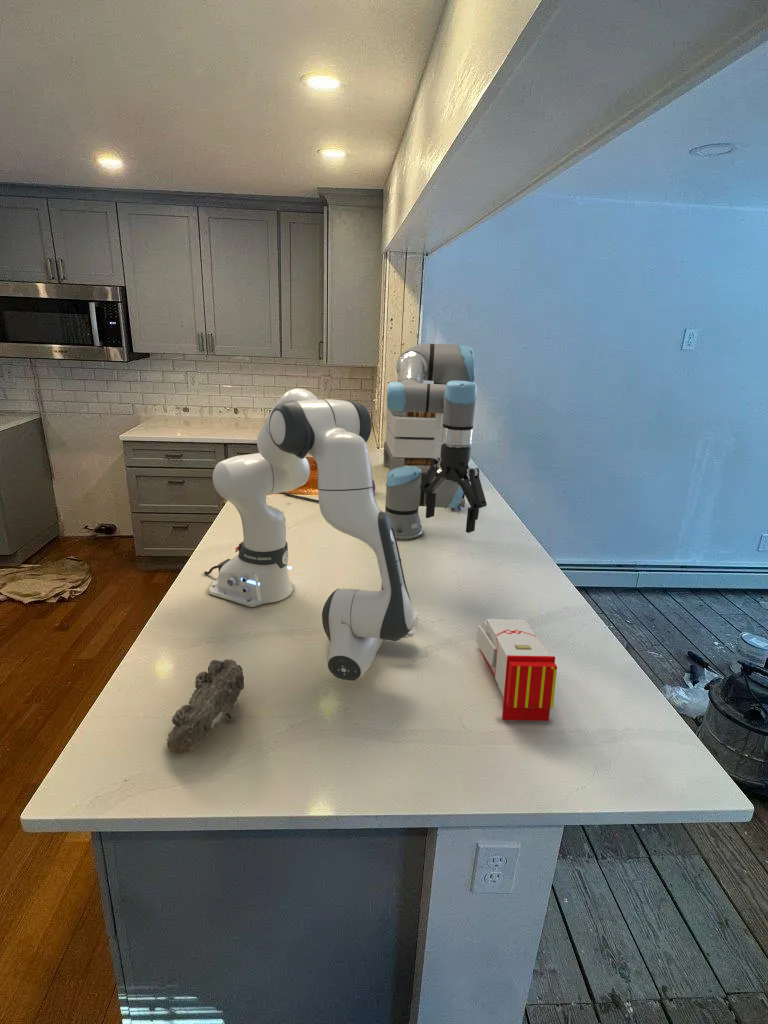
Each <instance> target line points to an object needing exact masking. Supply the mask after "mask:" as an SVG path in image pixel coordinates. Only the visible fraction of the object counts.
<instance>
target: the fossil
mask: <svg viewBox="0 0 768 1024" xmlns="http://www.w3.org/2000/svg"><path fill="white" fill-rule="evenodd" d="M243 670H244V669H243V667H242V665H240V664H237V662H236V661H235V660H234V659H232V658H231V659H227V658H226V659H224V660H223V661H222V660H217V659H212V660H211V661H210V663H209V665H208V666H207V671H201V672H199V673H198V674H197V675H196V676H195V680H194V684H195V685H194V687H195V689H194V690H193V693H192V694H191V697H190V698H189V700H188V704H184V705H182V706H181V707H180V709H177V710H176V711H175V713H174V715H173V716H172V718H171V723H172V724H173V727H172V730H171V731H170V732H168V734H167V738H166V741H167V742H166V745H167V749H168V750H169V751H173V752H174V753H176V754H178V753H182V752H188V751H189V752H192V751H193V750H195V748H196V747H197V746H199V744H200V743H201V742H203V741H204V740H205V739H206V738H207V737H208V736H209V735H210V734H211V733H212V732H214V730H215V729H217V727H218V726H219V724H220V722H221V721H222V720H223V719H224V718H225V716H226V717H227V719H229V720H233V717H232V715H230V714H229V710H230V709H231V708H234V706H235V704H236V703H237V702H238V699H239V697H240V695H241V693H242V691H243V690H245V689H244V688H245V675H244V671H243Z"/></svg>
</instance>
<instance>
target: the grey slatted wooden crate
mask: <svg viewBox="0 0 768 1024" xmlns="http://www.w3.org/2000/svg"><path fill="white" fill-rule="evenodd" d="M385 414H386V415H385V423H386V428H385V438H384V442H383V466H384V467H388V468H389V472H390V471H391V470H393V469H395V468H399V467H405V466H406V467H407V466H412V467H417V466H418V467H429V466H430V464H431V459H433V450H434V436H435V422H436V413H421V412H399V411H391V410H389V409H388V408H387V407H386V413H385Z"/></svg>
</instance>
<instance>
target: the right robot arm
mask: <svg viewBox="0 0 768 1024" xmlns="http://www.w3.org/2000/svg"><path fill="white" fill-rule="evenodd" d="M475 365H476V364H475V353H474V350H473V348H472V347H471V346H470V345H465V344H464V345H463V344H447V343H446V344H445V343H429V342H426V343H425V342H424V343H419V344H416V345H413V346H411V347H409V348H407V349H406V350H404V351H403V352H402V353H401V354H400V355H399V357H398V358H397V361H396V367H395V370H396V372H397V380H396V381H390V382H389V383H388V385H387V390H386V409H387V408H388V409H389V410H391V411H399V412H421V413H436V422H435V436H434V450H433V459H431V464H430V466H429V465H428V466H427V471H426V472H422V469H421V468H420V467H419V466H418V467H417V466H407V465H406V466H404V467H399V468H395V469H393V470H391V471H390V470H389V471H388V473H387V475H386V482H385V487H386V488H385V489H386V490H385V504H384V505H385V507H384V508H385V509H384V513H386V514H387V515H388V516H389V518H390V520H391V522H392V525H393V528H394V532H395V536H396V540H397V541H410V540H415V539H418V538H420V537H421V536H422V535H423V525H422V524H421V518H420V515H419V507H425V518H426V519H430V518H433V517H435V511H436V508H443V509H451V508H453V509H457V508H456V507H458V506H459V505H460V503H461V500H462V497H463V493H464V494H465V499H466V500H467V502H468V504H469V506H470V507H467V513H466V524H465V533H466V534H469V533H473V532H474V531H475V529H476V521H478V519H479V514H480V509H482V508H485V507H487V505H488V503H487V500H486V496H485V492H484V490H483V486H482V482H481V479H480V468H479V467H473V468H472V467H470V466H469V463H470V460H471V453H472V447H471V445H472V442H473V433H474V432H473V431H474V420H475V410H476V402H477V399H478V396H477V384H476V382H475V379H476V366H475ZM424 381H426V382H427V381H428V382H433V383H424ZM280 494H281V495H283V496H288V497H293V498H297V499H300V500H307V501H311V502H315V503H319V499H316V498H310V497H305V496H301V495H297V494H292V493H288V492H282V493H279V495H280Z"/></svg>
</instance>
